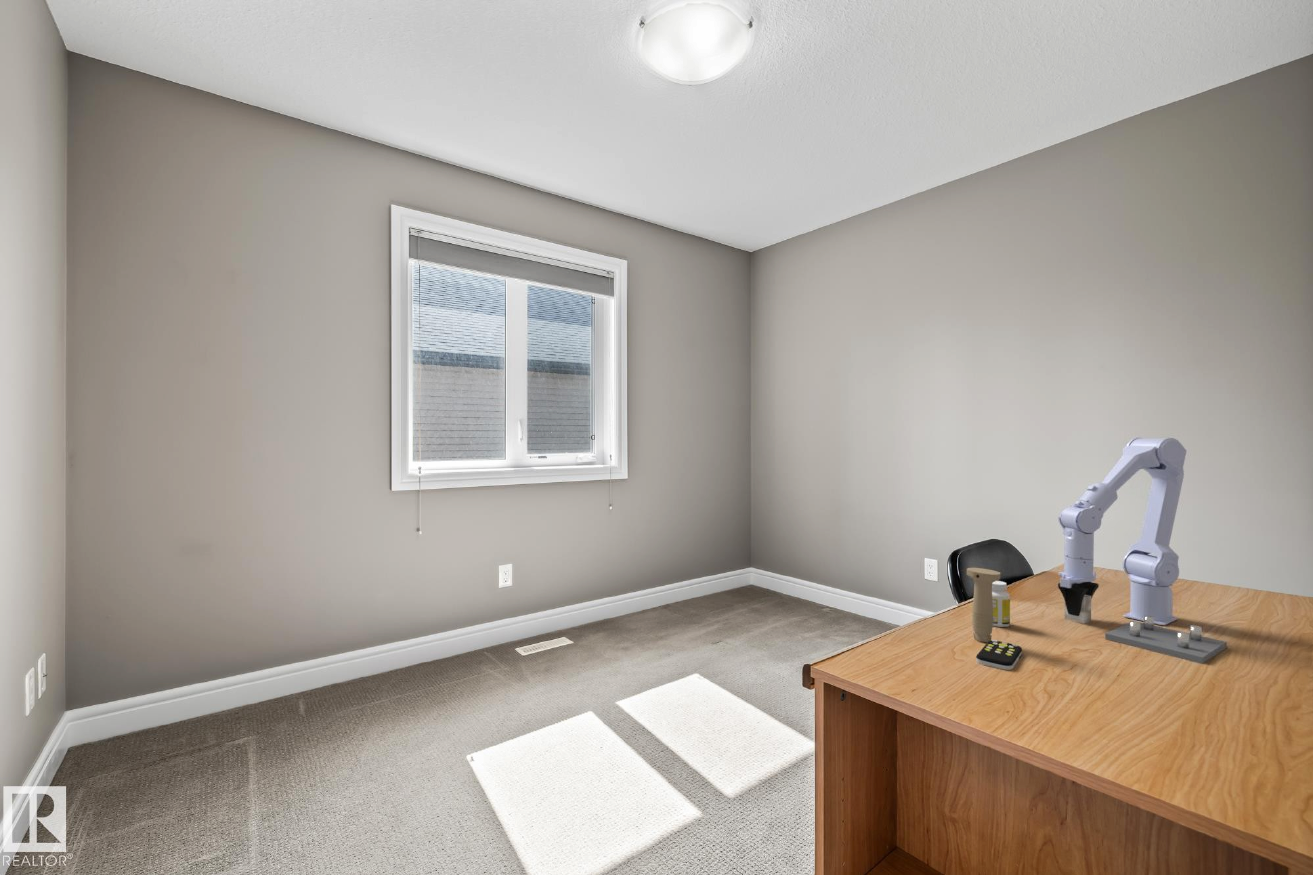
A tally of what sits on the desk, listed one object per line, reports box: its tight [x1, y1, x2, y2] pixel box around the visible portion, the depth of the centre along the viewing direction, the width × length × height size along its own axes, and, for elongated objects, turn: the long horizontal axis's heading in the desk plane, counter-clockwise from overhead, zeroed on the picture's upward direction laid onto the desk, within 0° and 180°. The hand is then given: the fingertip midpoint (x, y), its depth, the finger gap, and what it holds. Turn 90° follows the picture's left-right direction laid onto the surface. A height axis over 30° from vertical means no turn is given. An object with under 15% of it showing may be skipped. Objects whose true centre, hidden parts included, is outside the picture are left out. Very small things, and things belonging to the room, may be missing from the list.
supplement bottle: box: [992, 580, 1011, 628], centre depth 137 cm, size 5×5×10 cm
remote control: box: [975, 639, 1023, 671], centre depth 116 cm, size 6×13×2 cm, turn 139°
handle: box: [966, 567, 1001, 643], centre depth 126 cm, size 5×6×15 cm
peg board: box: [1104, 615, 1228, 664], centre depth 125 cm, size 16×16×4 cm
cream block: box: [1064, 595, 1092, 625], centre depth 141 cm, size 4×4×6 cm
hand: (1077, 613), depth 141 cm, fingers closed on cream block, 4 cm apart
